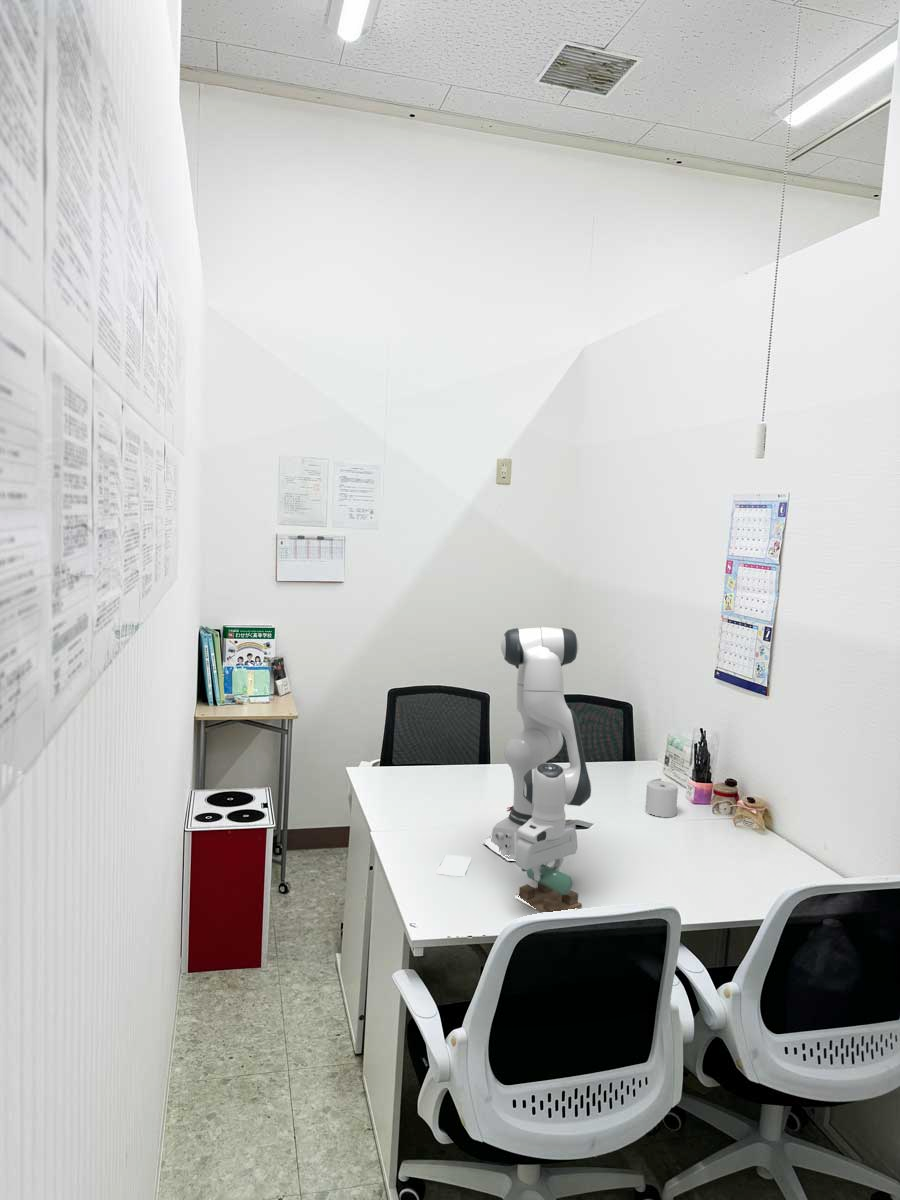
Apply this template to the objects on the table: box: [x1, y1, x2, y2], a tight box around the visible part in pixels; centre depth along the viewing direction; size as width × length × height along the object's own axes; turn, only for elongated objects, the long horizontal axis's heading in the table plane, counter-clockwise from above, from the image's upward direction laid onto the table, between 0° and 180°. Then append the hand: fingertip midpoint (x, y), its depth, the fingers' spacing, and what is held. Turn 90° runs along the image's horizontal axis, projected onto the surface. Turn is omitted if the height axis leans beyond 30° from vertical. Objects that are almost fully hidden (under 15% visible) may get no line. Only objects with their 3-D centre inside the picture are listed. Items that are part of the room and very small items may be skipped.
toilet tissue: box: [645, 778, 679, 818], centre depth 296 cm, size 11×12×10 cm
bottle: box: [520, 864, 574, 895], centre depth 224 cm, size 15×5×5 cm, turn 39°
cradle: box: [518, 882, 583, 913], centre depth 223 cm, size 14×11×4 cm
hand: (546, 876), depth 223 cm, fingers closed on bottle, 5 cm apart
